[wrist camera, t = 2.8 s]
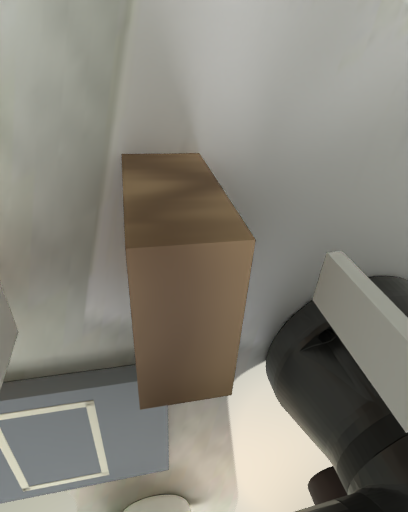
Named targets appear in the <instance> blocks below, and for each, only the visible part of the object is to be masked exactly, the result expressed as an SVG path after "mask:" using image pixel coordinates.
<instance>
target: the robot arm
mask: <svg viewBox="0 0 408 512" xmlns="http://www.w3.org/2000/svg"><path fill="white" fill-rule="evenodd" d="M312 300H313V301H311V302H310V303H308V304H307V305H306V306H304V307H303V308H302V309H300V310H299V311H298V312H297V313H296V314H295V315H294V316H293V317H291V319H290V320H289V321H288V322H287V323H286V324H285V325H284V326H283V327H282V329H281V330H280V331H279V333H278V334H277V336H276V337H275V339H274V341H273V342H272V344H271V346H270V349H269V352H268V355H267V359H266V373H267V376H268V379H269V381H270V383H271V386H272V388H273V390H274V393H275V395H276V397H277V399H278V401H279V402H280V404H281V405H282V407H284V409H285V410H286V411H287V412H288V413H289V414H290V415H291V417H292V418H293V419H294V420H295V421H296V422H297V424H298V425H299V426H300V427H301V428H302V429H303V431H304V432H305V433H306V434H307V435H308V436H309V437H310V438H311V440H312V441H313V442H314V443H315V444H316V445H317V446H318V447H319V449H320V450H321V451H322V452H323V453H324V454H325V455H326V456H327V458H328V459H329V460H330V462H331V463H332V464H333V467H334V468H335V470H336V472H337V474H338V477H339V479H340V481H341V483H342V485H343V487H344V489H345V491H346V493H347V495H346V496H343V497H340V498H337V499H333V500H331V501H328V502H325V503H321V504H318V505H315V506H312V507H308V508H305V509H302V510H299V511H296V512H408V280H406V279H403V278H398V277H390V276H379V277H370V278H368V277H367V276H366V275H365V274H364V273H363V272H362V271H361V270H360V269H359V268H358V267H357V266H356V265H355V263H354V262H353V261H352V260H351V259H350V258H349V257H348V256H347V255H346V254H345V253H344V252H343V251H337V252H327V253H326V256H325V260H324V263H323V266H322V269H321V273H320V276H319V279H318V282H317V286H316V289H315V292H314V296H313V299H312ZM17 335H18V330H17V327H16V324H15V321H14V318H13V316H12V313H11V310H10V307H9V304H8V302H7V299H6V296H5V293H4V291H3V288H2V285H1V282H0V390H1V387H2V383H3V380H4V377H5V374H6V371H7V367H8V364H9V361H10V358H11V354H12V351H13V348H14V345H15V341H16V338H17Z"/></svg>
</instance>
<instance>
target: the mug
mask: <svg viewBox="0 0 408 512" xmlns="http://www.w3.org/2000/svg"><path fill="white" fill-rule="evenodd" d="M123 512H191V509H190V506H189V504H188V502H187V501H186V500H185V499H184V498H182V497H180V496H177V495H157V496H152V497H148V498H145V499H142V500H139V501H137V502H135V503H133V504H131V505H130V506H128V507H127V508H126V509H125V510H124V511H123Z"/></svg>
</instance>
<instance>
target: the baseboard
mask: <svg viewBox="0 0 408 512" xmlns="http://www.w3.org/2000/svg"><path fill="white" fill-rule="evenodd" d="M166 470H169V451H168V405H167V406H160V407H154V408H148V409H142V410H140V405H139V394H138V383H137V372H136V365H130V366H123V367H115V368H108V369H100V370H93V371H86V372H78V373H71V374H63V375H56V376H49V377H41V378H34V379H26V380H19V381H12V382H4V383H2V387H1V390H0V503H5V502H10V501H15V500H20V499H25V498H30V497H35V496H40V495H45V494H50V493H55V492H60V491H65V490H70V489H75V488H80V487H85V486H90V485H95V484H100V483H105V482H110V481H115V480H120V479H125V478H130V477H135V476H140V475H145V474H150V473H155V472H160V471H166Z"/></svg>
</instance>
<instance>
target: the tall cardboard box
mask: <svg viewBox="0 0 408 512" xmlns="http://www.w3.org/2000/svg"><path fill="white" fill-rule="evenodd" d="M122 178H123V203H124V227H125V250H126V261H127V272H128V283H129V295H130V306H131V317H132V328H133V339H134V350H135V361H136V372H137V383H138V394H139V405H140V410H142V409H148V408H154V407H160V406H167V405H173V404H179V403H185V402H191V401H197V400H204V399H210V398H216V397H222V396H228V395H231V394H232V388H233V382H234V375H235V369H236V363H237V356H238V350H239V343H240V337H241V330H242V324H243V318H244V311H245V305H246V298H247V292H248V285H249V279H250V272H251V266H252V260H253V253H254V247H255V238H254V237H253V235H252V234H251V232H250V231H249V229H248V227H247V226H246V224H245V223H244V221H243V220H242V218H241V217H240V215H239V214H238V212H237V211H236V209H235V207H234V206H233V204H232V203H231V201H230V200H229V198H228V197H227V195H226V194H225V192H224V191H223V189H222V187H221V186H220V184H219V183H218V181H217V180H216V178H215V177H214V175H213V174H212V172H211V171H210V169H209V167H208V166H207V164H206V163H205V161H204V160H203V158H202V157H201V155H200V154H199V153H179V154H122Z"/></svg>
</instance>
